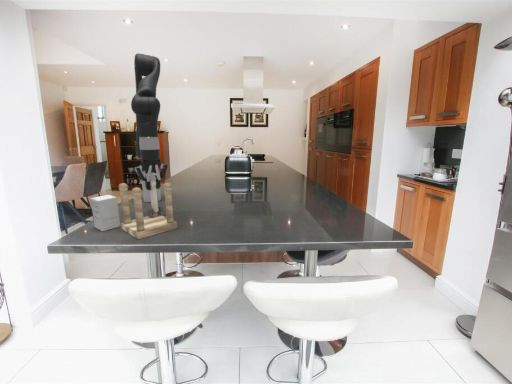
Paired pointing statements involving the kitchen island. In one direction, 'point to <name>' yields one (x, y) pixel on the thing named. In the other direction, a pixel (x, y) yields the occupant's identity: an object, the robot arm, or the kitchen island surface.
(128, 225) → the wooden post rack
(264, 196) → the kitchen island surface
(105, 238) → the kitchen island surface
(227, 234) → the kitchen island surface
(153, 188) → the folding leg
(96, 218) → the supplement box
